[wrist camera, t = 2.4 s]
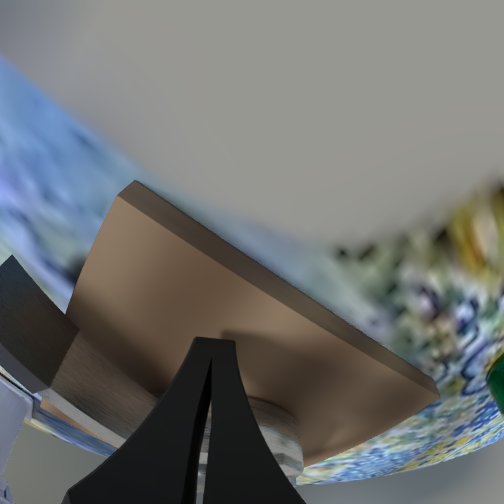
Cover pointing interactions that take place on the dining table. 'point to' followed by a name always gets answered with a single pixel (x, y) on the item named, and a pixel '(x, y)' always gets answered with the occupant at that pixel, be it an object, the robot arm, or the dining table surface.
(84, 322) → the walnut board
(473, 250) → the dining table surface
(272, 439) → the silver mechanical part
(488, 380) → the soda can
